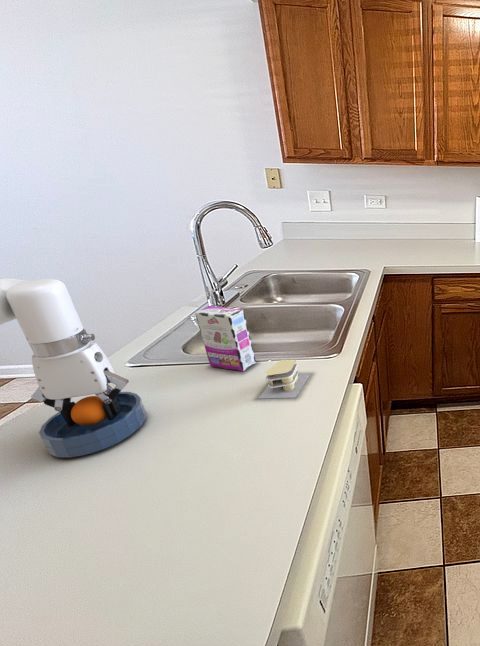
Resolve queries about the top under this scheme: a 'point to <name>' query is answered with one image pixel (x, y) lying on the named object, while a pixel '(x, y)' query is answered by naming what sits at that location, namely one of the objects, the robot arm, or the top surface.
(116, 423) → the bowl
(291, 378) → the stacked layers on plate
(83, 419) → the orange
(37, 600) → the top surface
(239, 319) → the candy bar box
